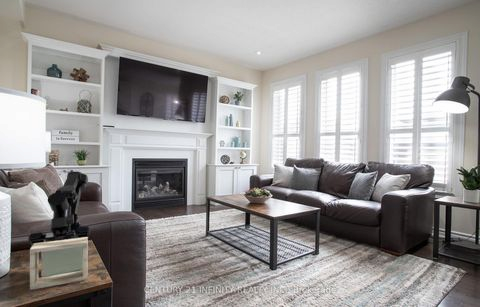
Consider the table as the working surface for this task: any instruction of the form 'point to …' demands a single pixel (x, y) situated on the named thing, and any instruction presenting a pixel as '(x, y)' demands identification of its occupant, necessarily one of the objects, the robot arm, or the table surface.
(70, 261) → the door
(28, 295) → the table surface
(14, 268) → the table surface
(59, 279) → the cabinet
